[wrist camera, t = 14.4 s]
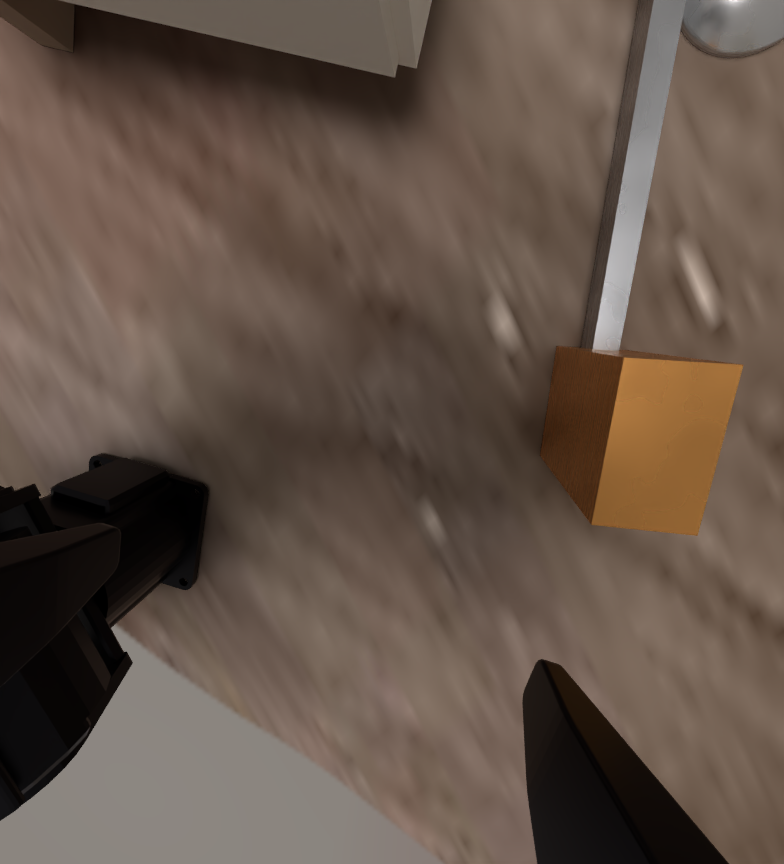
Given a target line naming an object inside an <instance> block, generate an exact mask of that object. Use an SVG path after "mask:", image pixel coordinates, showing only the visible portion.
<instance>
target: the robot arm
mask: <svg viewBox="0 0 784 864" xmlns="http://www.w3.org/2000/svg"><path fill="white" fill-rule="evenodd" d="M100 462H101V463H102V465H101V464H100ZM195 490H197V491H198V492H199V493H200V495H197V494H196V492H195ZM39 496H41V494H40V492H39V491H38V489H37V487H36V485H35V484H32V485H29V486H26V487H23V488H20V489H17V490H14V489H13V487H12V486H11V487H7V488H4V487H2V486H0V820H2V819H3V818H5V817H7V816H8V815H10V814H11V813H12V812H14V811H15V810H17V809H18V808H19V807H20V806H21V805H22V804H24V803H25V802H26V801H28V800H29V799H31V798H32V797H33V796H34V795H35V794H37V793H38V792H39V791H40V790H41V789H43V788H44V787H45V786H46V785H47V784H49V782H50V781H52V780H53V778H55V777H56V776H57V775H58V774H59V773H60V772H61V771H62V770H63V769H64V768H65V767H66V766H67V764H68V763H69V762H70V761H71V760H72V759H73V758H74V756H75V755H76V754H77V753H78V751H79V750H80V748H81V747H82V745H83V744H84V743H85V741H86V739H87V738H88V736H89V734H90V733H91V731H92V729H93V728H94V726H95V725H96V723H97V721H98V720H99V718H100V716H101V714H102V713H103V711H104V709H105V708H106V706H107V705H108V703H109V701H110V700H111V698H112V696H113V694H114V693H115V691H116V690H117V688H118V686H119V685H120V683H121V681H122V680H123V678H124V676H125V675H126V673H127V671H128V670H129V668H130V667H131V665H132V663H133V662H132V660H131V659H130V657H129V655H128V653H127V652H124V651H123V650H122V648H121V646H120V644H119V642H118V641H117V639H116V637H115V635H114V633H113V631H112V630H111V627H112V626H114V625H115V624H116V623H117V622H118V621H119V620H120V619H122V618H123V617H124V616H125V615H126V614H127V613H128V612H129V611H130V610H132V609H133V608H134V607H135V606H136V605H137V604H138V603H139V602H141V601H142V600H143V599H144V598H145V597H146V596H147V595H148V594H149V593H151V592H152V591H153V590H154V589H155V588H156V587H157V586H158V585H159V584H161V583H163V584H167V585H170V586H173V587H176V588H179V589H182V590H188V589H190V588H191V587H192V586H193V585H194V584H195V582H196V578H197V571H198V564H199V556H200V549H201V542H202V535H203V528H204V521H205V514H206V507H207V500H208V489H207V487H206V486H205V485H204V484H203V483H200V482H197V481H194V480H190V479H187V478H184V477H180V476H177V475H174V474H170V473H169V472H168V471H166V470H165V469H161V468H158V467H155V466H151V465H148V464H145V463H141V462H138V461H135V460H131V459H128V458H117V457H114V456H110V455H107V454H98V455H96V456H93V457H91V459H90V461H89V471H88V472H85V473H83V474H80V475H78V476H75V477H73V478H70V479H68V480H65V481H63V482H60V483H58V484H56V485H55V486H53V487H52V488H51V494H50V495H48V496H45V497H43V498H41V499H39ZM184 578H185V579H186V580H187V581H188V582H187V581H185V579H184ZM523 723H524V743H525V764H526V781H527V793H528V801H529V809H530V816H531V823H532V830H533V837H534V844H535V851H536V858H537V864H729V863H728V862H727V861H726V860H725V858H724V857H723V856H722V855H721V854H720V852H719V851H718V850H717V849H716V848H715V847H714V845H713V844H712V843H711V842H710V841H709V839H708V838H707V837H706V836H705V835H704V834H703V832H702V831H701V830H700V829H699V828H698V827H697V825H696V824H695V823H694V822H693V821H692V819H691V818H690V817H689V816H688V815H687V814H686V812H685V811H684V810H683V809H682V808H681V806H680V805H679V804H678V803H677V802H676V801H675V799H674V798H673V797H672V796H671V795H670V793H669V792H668V791H667V790H666V789H665V788H664V786H663V785H662V784H661V783H660V782H659V780H658V779H657V778H656V777H655V776H654V775H653V773H652V772H651V771H650V770H649V769H648V767H647V766H646V765H645V764H644V763H643V762H642V760H641V759H640V758H639V757H638V756H637V755H636V753H635V752H634V751H633V750H632V749H631V747H630V746H629V745H628V744H627V743H626V742H625V740H624V739H623V738H622V737H621V736H620V734H619V733H618V732H617V731H616V730H615V729H614V727H613V726H612V725H611V724H610V723H609V721H608V720H607V719H606V718H605V717H604V716H603V714H602V713H601V712H600V711H599V710H598V708H597V707H596V706H595V705H594V704H593V703H592V701H591V700H590V699H589V698H588V697H587V695H586V694H585V693H584V692H583V691H582V690H581V688H580V687H579V686H578V685H577V684H576V682H575V681H574V680H573V679H572V678H571V677H570V675H569V674H568V673H567V672H566V671H565V670H564V668H563V667H562V666H561V665H559V664H556V663H553V662H550V661H547V660H543V659H541V660H538V661H537V663H536V664H535V666H534V669H533V671H532V673H531V676H530V678H529V680H528V682H527V685H526V687H525V690H524V693H523Z"/></svg>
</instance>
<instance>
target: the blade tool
mask: <svg viewBox="0 0 784 864" xmlns="http://www.w3.org/2000/svg"><path fill="white" fill-rule="evenodd" d="M685 3H686V0H639V2H638V8H637V14H636V20H635V26H634V32H633V38H632V44H631V50H630V56H629V62H628V68H627V74H626V80H625V85H624V91H623V97H622V103H621V109H620V115H619V121H618V127H617V133H616V139H615V145H614V151H613V157H612V163H611V169H610V175H609V181H608V187H607V193H606V199H605V205H604V211H603V217H602V223H601V229H600V235H599V241H598V246H597V252H596V258H595V264H594V270H593V276H592V282H591V288H590V294H589V300H588V306H587V312H586V318H585V324H584V330H583V336H582V342H581V348H580V347H563V346H557V347H556V354H555V360H554V367H553V373H552V380H551V386H550V393H549V400H548V406H547V413H546V419H545V426H544V432H543V439H542V445H541V452H540V456H541V457H542V459H543V460H544V461H545V463H546V464H547V466H548V467H549V468H550V470H551V471H552V472H553V474H554V475H555V476H556V478H557V479H558V480H559V482H560V483H561V484H562V486H563V487H564V488H565V490H566V491H567V492H568V494H569V495H570V497H571V498H572V499H573V501H574V502H575V503H576V505H577V506H578V507H579V509H580V510H581V511H582V513H583V514H584V515H585V517H586V518H587V519H588V521H589V522H590V523H591V525H599V526H609V527H618V528H628V529H638V530H647V531H657V532H667V533H676V534H686V535H696V536H697V535H698V532H699V528H700V524H701V521H702V517H703V513H704V509H705V506H706V502H707V498H708V495H709V491H710V487H711V483H712V480H713V476H714V472H715V469H716V465H717V461H718V457H719V454H720V450H721V446H722V443H723V439H724V435H725V431H726V428H727V424H728V420H729V417H730V413H731V409H732V405H733V402H734V398H735V394H736V391H737V387H738V383H739V379H740V376H741V372H742V368H743V365H740V364H732V363H724V362H717V361H709V360H701V359H693V358H685V357H677V356H669V355H661V354H653V353H646V352H638V351H630V350H619V348H620V343H621V337H622V332H623V327H624V322H625V316H626V311H627V306H628V301H629V295H630V290H631V285H632V280H633V275H634V269H635V264H636V259H637V254H638V248H639V243H640V238H641V233H642V228H643V222H644V217H645V212H646V207H647V201H648V196H649V191H650V186H651V180H652V175H653V170H654V165H655V160H656V154H657V149H658V144H659V139H660V133H661V128H662V123H663V118H664V113H665V107H666V102H667V97H668V92H669V86H670V81H671V76H672V71H673V65H674V60H675V55H676V50H677V45H678V39H679V34H680V29H681V24H682V18H683V13H684V8H685Z"/></svg>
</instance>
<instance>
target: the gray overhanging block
mask: <svg viewBox="0 0 784 864" xmlns="http://www.w3.org/2000/svg"><path fill="white" fill-rule="evenodd" d="M431 3H432V0H0V17H2V18H3V19H4V20H6V21H7V22H9V23H10V24H12V25H13V26H14V27H16V28H17V29H19V30H20V31H22V32H23V33H25V34H26V35H27V36H29V37H30V38H32V39H33V40H35V41H36V42H37V43H39V44H40V45H43V46H48V47H52V48H56V49H60V50H64V51H69V52H73V40H74V8H75V4H77V5H81V6H86V7H90V8H94V9H99V10H103V11H107V12H112V13H116V14H120V15H125V16H129V17H133V18H138V19H142V20H146V21H151V22H155V23H159V24H164V25H168V26H173V27H177V28H181V29H186V30H190V31H194V32H199V33H203V34H207V35H212V36H216V37H220V38H225V39H229V40H233V41H238V42H242V43H246V44H251V45H255V46H260V47H264V48H268V49H273V50H277V51H281V52H286V53H290V54H294V55H299V56H303V57H307V58H312V59H316V60H320V61H325V62H329V63H333V64H338V65H342V66H346V67H351V68H355V69H360V70H364V71H368V72H373V73H377V74H381V75H386V76H390V77H394V78H395V75H396V70H397V66H398V65H403V66H407V67H411V68H416V69H417V65H418V60H419V56H420V52H421V47H422V43H423V38H424V34H425V29H426V25H427V20H428V16H429V12H430V7H431Z"/></svg>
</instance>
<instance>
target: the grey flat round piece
mask: <svg viewBox="0 0 784 864" xmlns="http://www.w3.org/2000/svg"><path fill="white" fill-rule="evenodd" d="M680 30H681V32H682V33H683V34H684V36H685V37H686V38H687V40H688V41H689V42H690V43H691V44H692V45H694V46H695V47H696V48H698V49H699V50H701V51H703V52H705V53H707V54H709V55H712V56H716V57H722V58H740V57H746V56H750V55H753V54H756V53H759V52H761V51H763V50H766V49H768V48H770V47H771V46H773V45H775V44H777V43H778V42H780V41H781V40H782V39H784V0H686V3H685V8H684V13H683V18H682V24H681V29H680Z"/></svg>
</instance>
